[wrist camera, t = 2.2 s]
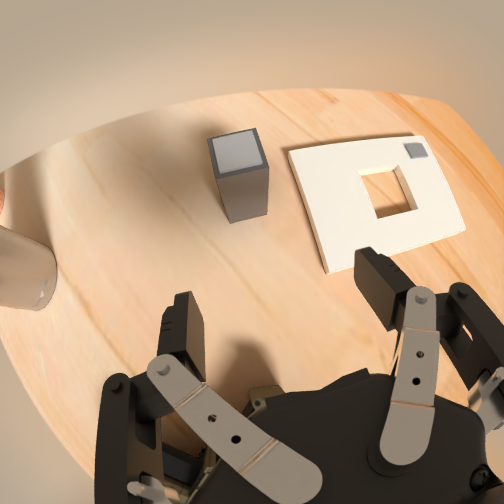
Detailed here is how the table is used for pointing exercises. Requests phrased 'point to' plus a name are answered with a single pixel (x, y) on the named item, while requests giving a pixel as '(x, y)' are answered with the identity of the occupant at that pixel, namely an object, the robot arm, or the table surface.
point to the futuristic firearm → (196, 470)
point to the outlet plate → (359, 204)
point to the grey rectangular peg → (241, 173)
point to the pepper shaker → (1, 199)
